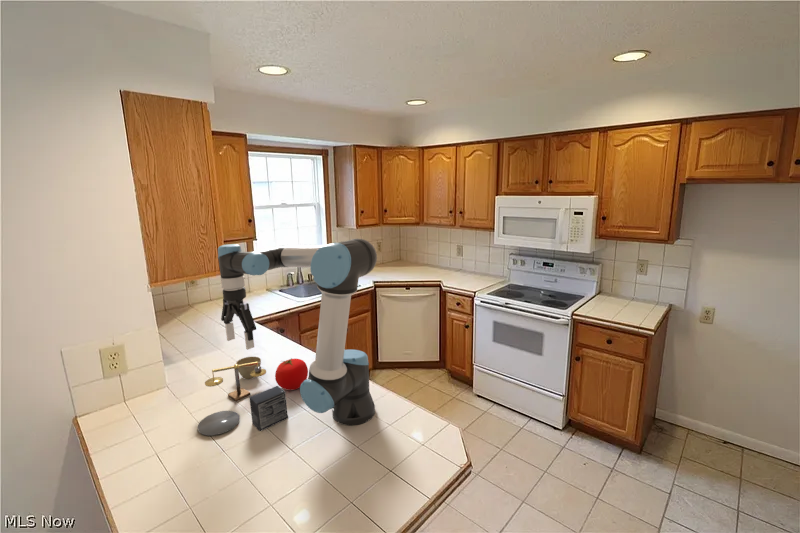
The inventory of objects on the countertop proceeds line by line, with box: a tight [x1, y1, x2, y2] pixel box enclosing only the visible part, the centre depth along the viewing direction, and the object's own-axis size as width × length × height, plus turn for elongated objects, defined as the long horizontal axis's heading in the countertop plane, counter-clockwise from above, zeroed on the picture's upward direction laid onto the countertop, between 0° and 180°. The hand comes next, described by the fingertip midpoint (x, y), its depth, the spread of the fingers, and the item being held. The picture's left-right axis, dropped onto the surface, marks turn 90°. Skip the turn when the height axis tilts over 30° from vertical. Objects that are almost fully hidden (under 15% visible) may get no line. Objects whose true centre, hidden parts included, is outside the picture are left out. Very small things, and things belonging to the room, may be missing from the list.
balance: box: [204, 362, 267, 403], centre depth 147 cm, size 6×24×15 cm, turn 142°
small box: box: [248, 385, 289, 432], centre depth 131 cm, size 11×6×10 cm, turn 134°
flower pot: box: [235, 356, 262, 381], centre depth 163 cm, size 10×10×7 cm
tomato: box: [274, 357, 309, 391], centre depth 154 cm, size 12×14×11 cm
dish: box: [197, 410, 241, 437], centre depth 130 cm, size 13×13×1 cm
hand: (240, 343), depth 140 cm, fingers open, 13 cm apart
